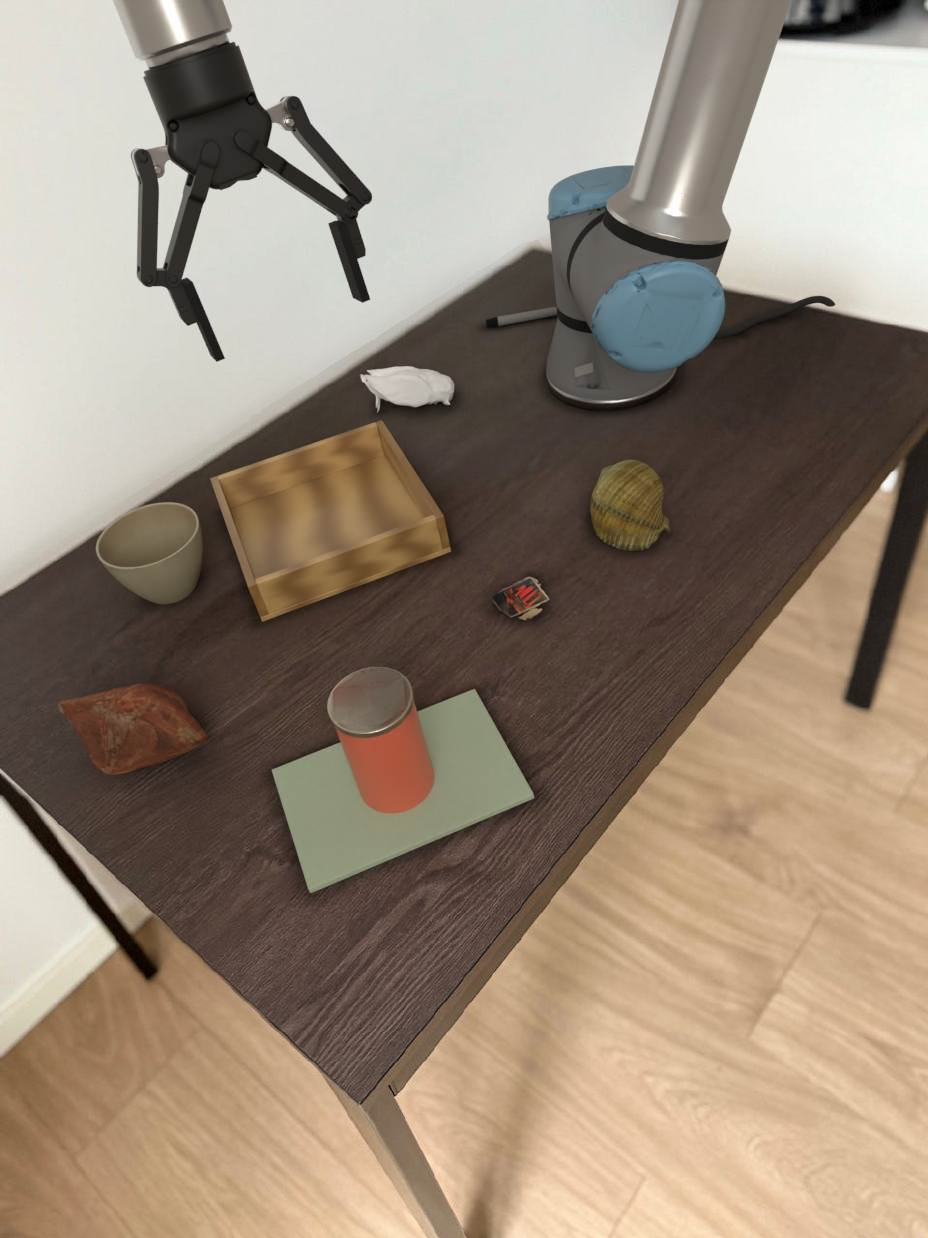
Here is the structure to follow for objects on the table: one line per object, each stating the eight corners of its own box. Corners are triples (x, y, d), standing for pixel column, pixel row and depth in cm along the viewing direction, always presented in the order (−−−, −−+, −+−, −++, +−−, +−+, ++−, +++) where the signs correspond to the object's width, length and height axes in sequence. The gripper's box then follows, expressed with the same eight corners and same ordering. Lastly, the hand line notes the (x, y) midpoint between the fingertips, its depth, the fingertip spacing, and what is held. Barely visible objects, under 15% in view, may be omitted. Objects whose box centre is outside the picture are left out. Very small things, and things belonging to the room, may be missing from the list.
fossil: (231, 733, 77) (122, 676, 71) (174, 823, 76) (59, 773, 70) (189, 690, 87) (92, 638, 82) (138, 769, 86) (36, 722, 81)
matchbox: (486, 602, 88) (486, 599, 88) (527, 574, 90) (526, 570, 90) (520, 626, 85) (520, 623, 85) (561, 596, 87) (561, 593, 87)
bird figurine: (380, 432, 114) (457, 404, 111) (355, 380, 110) (435, 350, 108) (386, 416, 118) (460, 389, 115) (362, 366, 114) (439, 337, 112)
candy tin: (420, 738, 77) (396, 655, 70) (447, 795, 73) (424, 712, 66) (348, 767, 76) (317, 685, 69) (371, 827, 72) (340, 746, 65)
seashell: (659, 569, 94) (706, 501, 91) (624, 567, 89) (673, 494, 85) (591, 513, 99) (633, 447, 96) (554, 508, 93) (597, 438, 90)
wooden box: (390, 454, 108) (381, 419, 105) (451, 551, 94) (444, 515, 91) (223, 511, 105) (209, 478, 101) (262, 622, 91) (247, 587, 88)
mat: (475, 692, 81) (474, 688, 80) (534, 798, 72) (533, 794, 72) (273, 773, 78) (271, 769, 77) (310, 894, 69) (308, 889, 69)
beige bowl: (199, 624, 92) (172, 569, 87) (108, 620, 94) (77, 567, 89) (236, 556, 99) (213, 501, 94) (150, 553, 101) (123, 500, 96)
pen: (486, 325, 126) (485, 316, 125) (609, 303, 125) (609, 294, 124) (487, 330, 125) (486, 321, 124) (611, 308, 124) (611, 298, 123)
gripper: (325, 6, 76) (403, 270, 88) (22, 106, 71) (148, 372, 83) (354, -4, 70) (434, 281, 82) (25, 105, 65) (161, 392, 77)
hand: (291, 327), depth 82 cm, fingers open, 13 cm apart
